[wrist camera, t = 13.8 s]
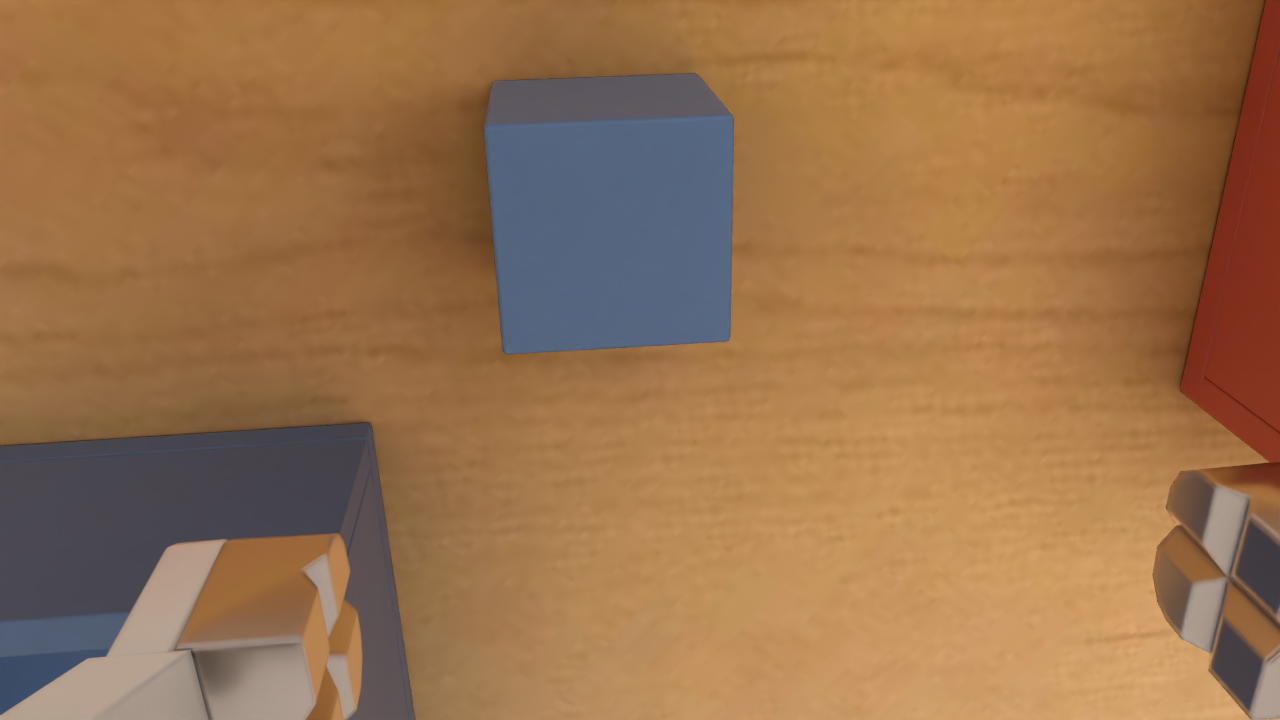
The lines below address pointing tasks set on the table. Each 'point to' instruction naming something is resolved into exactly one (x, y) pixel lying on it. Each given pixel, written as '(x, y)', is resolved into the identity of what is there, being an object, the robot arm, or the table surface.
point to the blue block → (610, 211)
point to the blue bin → (182, 538)
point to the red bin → (1246, 270)
